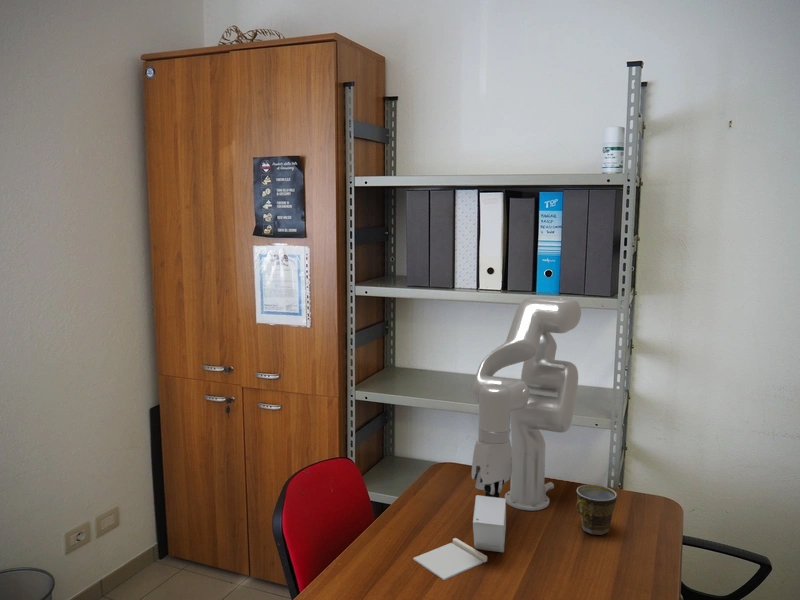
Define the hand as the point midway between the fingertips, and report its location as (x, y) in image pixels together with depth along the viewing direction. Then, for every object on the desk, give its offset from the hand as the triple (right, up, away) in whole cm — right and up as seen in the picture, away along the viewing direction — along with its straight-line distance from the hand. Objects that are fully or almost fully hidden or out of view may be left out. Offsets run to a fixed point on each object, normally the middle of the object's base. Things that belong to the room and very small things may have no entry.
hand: (492, 507), depth 154 cm
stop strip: (-6, -10, -3) cm, 12 cm away
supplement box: (0, -7, 0) cm, 7 cm away
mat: (-12, -10, -7) cm, 17 cm away
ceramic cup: (+27, -9, +8) cm, 29 cm away
